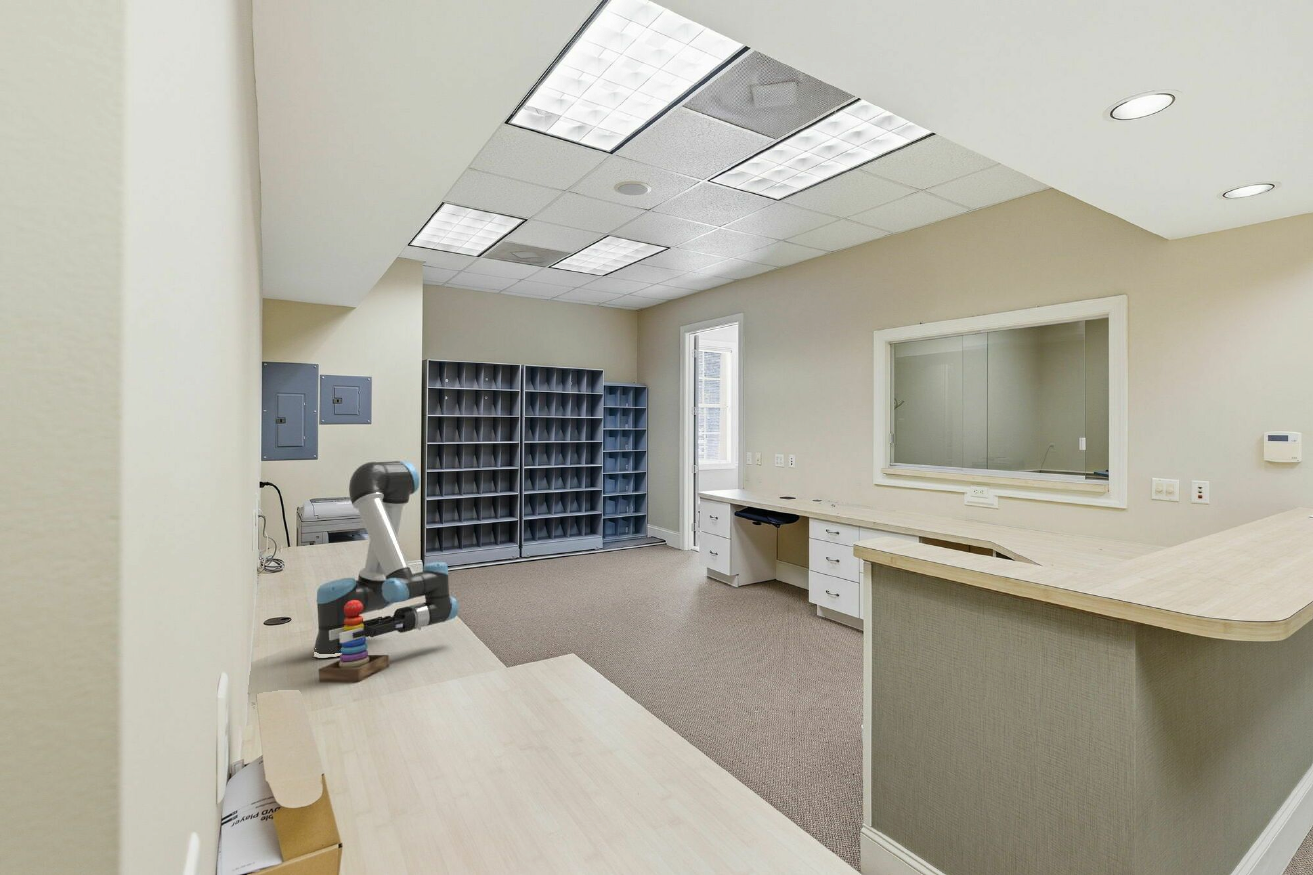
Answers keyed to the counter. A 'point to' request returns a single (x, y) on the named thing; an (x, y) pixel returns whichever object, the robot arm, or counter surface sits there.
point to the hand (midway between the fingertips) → (335, 636)
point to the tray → (353, 670)
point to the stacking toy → (355, 649)
